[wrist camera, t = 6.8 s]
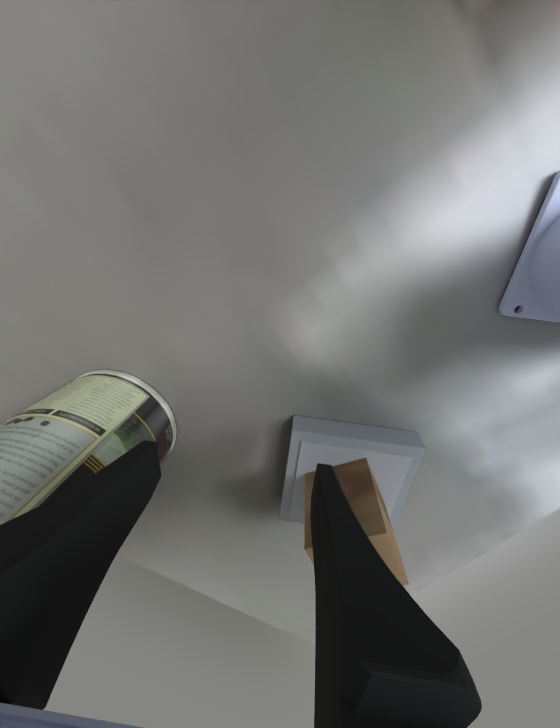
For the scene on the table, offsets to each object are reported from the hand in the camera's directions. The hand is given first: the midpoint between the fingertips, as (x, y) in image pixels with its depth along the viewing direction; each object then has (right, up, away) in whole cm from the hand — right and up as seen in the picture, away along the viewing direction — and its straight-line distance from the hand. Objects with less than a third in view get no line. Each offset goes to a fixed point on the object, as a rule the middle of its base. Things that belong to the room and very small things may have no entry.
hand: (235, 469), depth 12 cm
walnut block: (+7, -5, +10) cm, 14 cm away
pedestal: (+8, -5, +12) cm, 15 cm away
